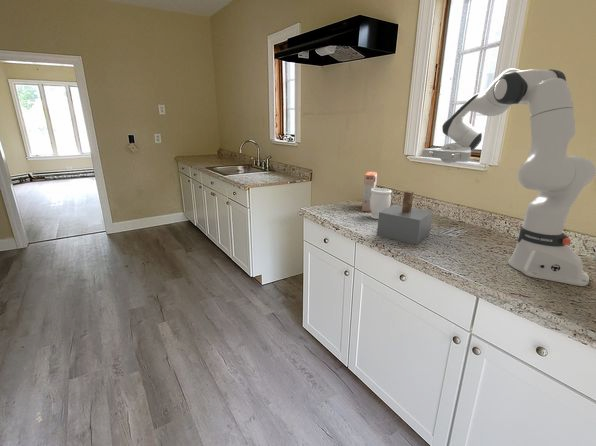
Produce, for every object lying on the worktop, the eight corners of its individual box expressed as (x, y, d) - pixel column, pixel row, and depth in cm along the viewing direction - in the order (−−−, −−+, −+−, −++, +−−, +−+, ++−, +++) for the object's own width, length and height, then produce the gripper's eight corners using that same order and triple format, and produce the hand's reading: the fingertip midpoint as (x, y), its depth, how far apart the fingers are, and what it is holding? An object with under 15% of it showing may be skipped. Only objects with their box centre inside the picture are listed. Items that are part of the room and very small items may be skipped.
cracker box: (372, 212, 178) (375, 175, 172) (361, 211, 180) (364, 174, 174) (374, 206, 191) (377, 171, 184) (364, 205, 193) (367, 171, 186)
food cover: (429, 233, 146) (436, 191, 140) (416, 245, 132) (423, 198, 126) (392, 225, 156) (396, 186, 150) (376, 235, 143) (381, 192, 137)
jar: (364, 216, 170) (366, 189, 166) (376, 213, 177) (379, 186, 172) (381, 221, 162) (384, 192, 158) (392, 218, 169) (396, 190, 164)
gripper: (427, 144, 154) (418, 146, 144) (474, 147, 142) (468, 149, 132) (426, 158, 156) (416, 160, 146) (472, 161, 144) (465, 164, 134)
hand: (441, 155), depth 139 cm, fingers open, 8 cm apart
